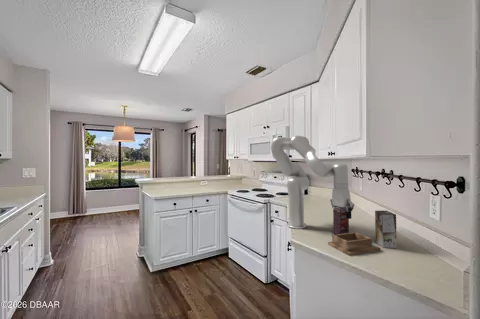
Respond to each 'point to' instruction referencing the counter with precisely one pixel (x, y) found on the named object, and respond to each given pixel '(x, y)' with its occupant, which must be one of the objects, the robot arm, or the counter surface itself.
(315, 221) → the counter surface
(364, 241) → the brown wooden tray
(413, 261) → the counter surface
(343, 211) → the supplement box
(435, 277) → the counter surface
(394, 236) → the coffee box
